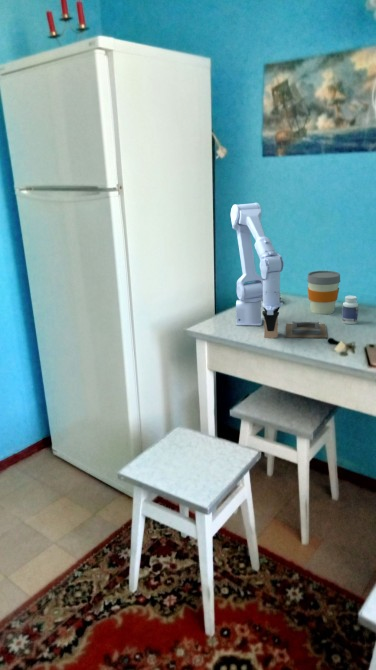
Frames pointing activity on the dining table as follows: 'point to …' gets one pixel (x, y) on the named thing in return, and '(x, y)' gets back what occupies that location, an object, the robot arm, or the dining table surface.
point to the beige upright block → (271, 333)
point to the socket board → (306, 330)
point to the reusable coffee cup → (323, 291)
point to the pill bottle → (350, 310)
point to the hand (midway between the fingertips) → (271, 328)
